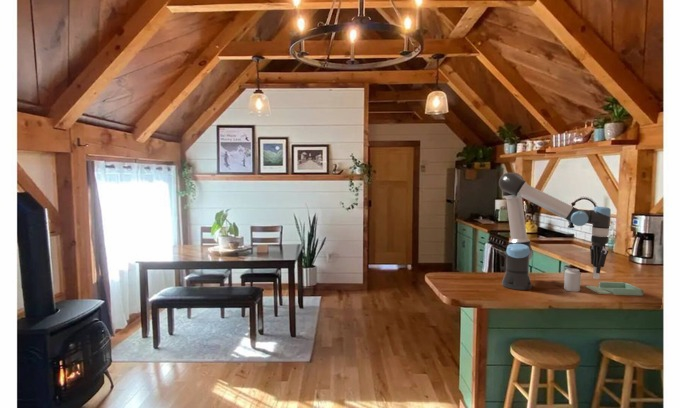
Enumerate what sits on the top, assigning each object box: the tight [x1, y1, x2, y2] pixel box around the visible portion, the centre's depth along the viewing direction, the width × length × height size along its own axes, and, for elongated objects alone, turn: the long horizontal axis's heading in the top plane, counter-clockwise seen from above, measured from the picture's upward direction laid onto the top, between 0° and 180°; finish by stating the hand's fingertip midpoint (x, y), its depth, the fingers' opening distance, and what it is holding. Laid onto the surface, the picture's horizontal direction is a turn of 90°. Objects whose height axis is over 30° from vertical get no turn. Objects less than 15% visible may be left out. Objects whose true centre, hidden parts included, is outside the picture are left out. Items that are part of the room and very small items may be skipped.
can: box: [563, 267, 582, 293], centre depth 208 cm, size 8×8×12 cm
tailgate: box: [585, 285, 611, 295], centre depth 208 cm, size 1×11×6 cm
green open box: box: [598, 281, 644, 296], centre depth 207 cm, size 14×14×4 cm
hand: (596, 278), depth 207 cm, fingers closed
